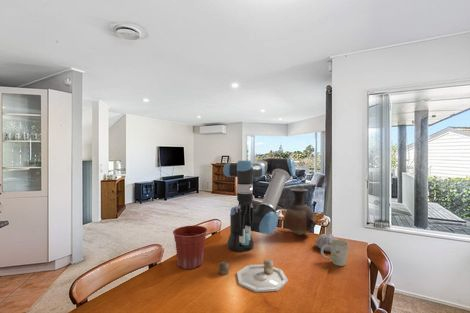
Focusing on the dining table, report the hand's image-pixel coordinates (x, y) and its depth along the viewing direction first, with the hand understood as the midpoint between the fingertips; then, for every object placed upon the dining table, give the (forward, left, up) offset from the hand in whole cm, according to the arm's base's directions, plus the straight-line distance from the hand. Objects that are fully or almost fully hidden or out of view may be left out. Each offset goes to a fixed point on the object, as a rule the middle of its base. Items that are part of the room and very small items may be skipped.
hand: (244, 240), depth 113 cm
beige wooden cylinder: (+14, -2, -10) cm, 17 cm away
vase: (+3, +56, -11) cm, 57 cm away
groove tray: (+14, -7, -11) cm, 19 cm away
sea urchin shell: (+25, +45, -12) cm, 53 cm away
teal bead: (0, 0, -1) cm, 1 cm away
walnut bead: (-1, -14, -11) cm, 18 cm away
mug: (+33, +29, -11) cm, 45 cm away
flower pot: (-21, -16, -12) cm, 29 cm away
